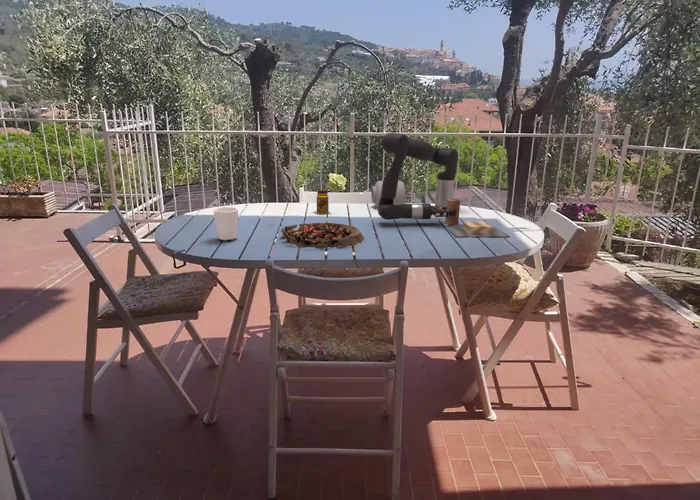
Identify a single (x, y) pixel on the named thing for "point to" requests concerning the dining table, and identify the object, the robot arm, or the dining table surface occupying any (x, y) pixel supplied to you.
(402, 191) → the jar
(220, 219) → the cup
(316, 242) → the food dish
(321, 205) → the condiment
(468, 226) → the plinth
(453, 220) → the pillar
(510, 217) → the dining table surface
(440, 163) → the robot arm
